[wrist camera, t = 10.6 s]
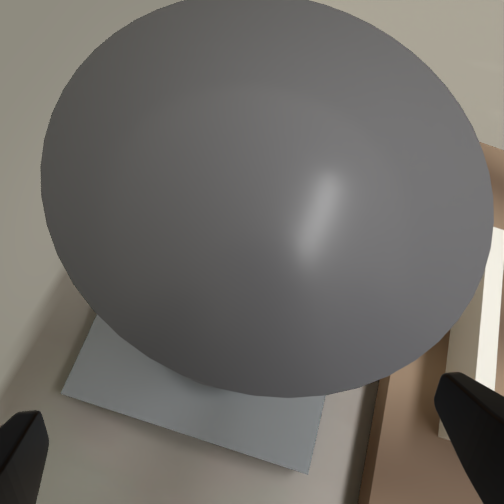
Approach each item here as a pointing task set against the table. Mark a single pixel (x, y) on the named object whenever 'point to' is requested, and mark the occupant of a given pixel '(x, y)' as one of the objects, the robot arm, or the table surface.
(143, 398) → the grey mat
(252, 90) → the orange cylinder grey ends
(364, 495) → the walnut board
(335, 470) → the table surface
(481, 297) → the white square frame
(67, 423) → the table surface
